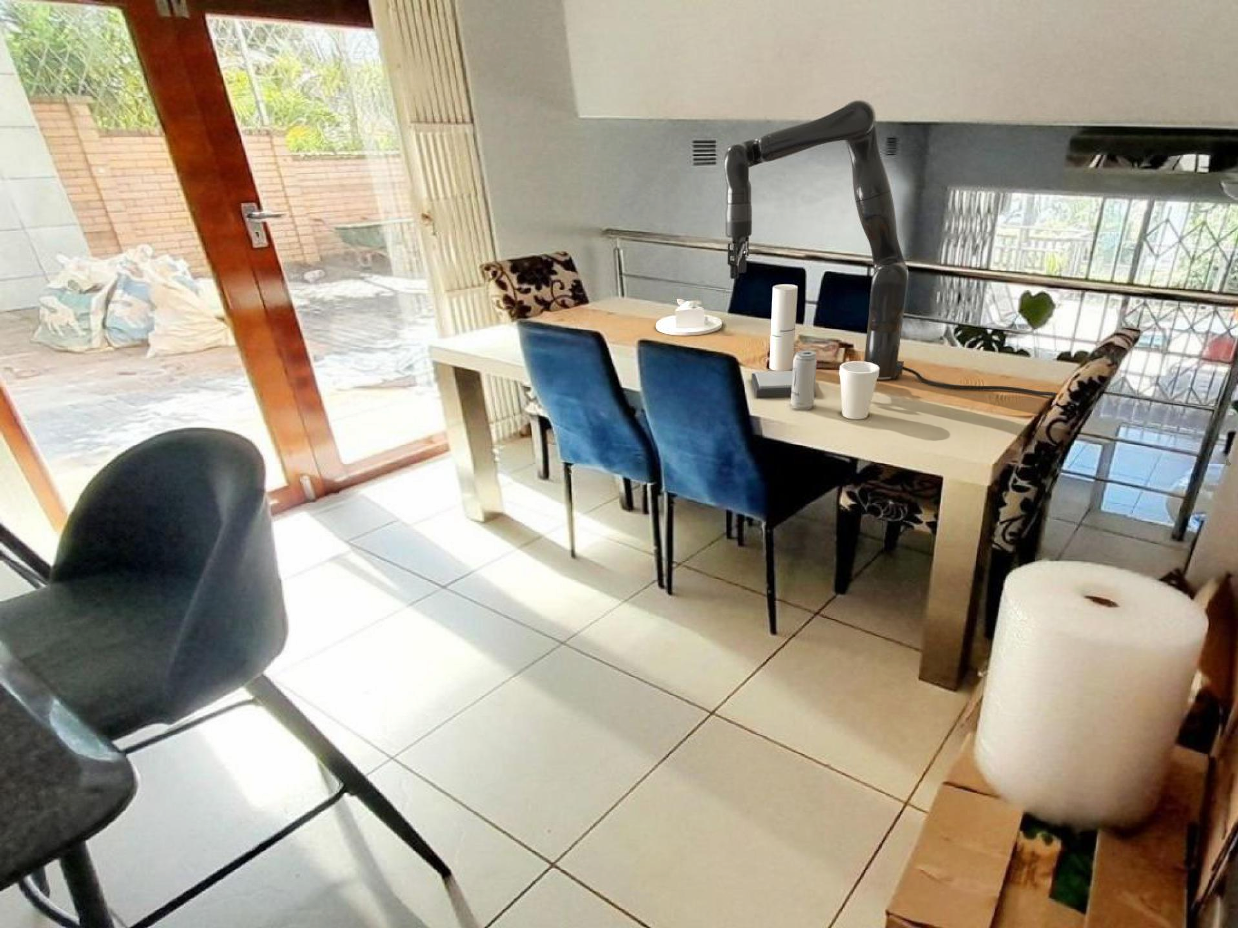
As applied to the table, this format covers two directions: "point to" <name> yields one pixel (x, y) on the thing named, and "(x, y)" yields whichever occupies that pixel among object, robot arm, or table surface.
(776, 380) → the scale
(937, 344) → the table surface
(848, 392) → the foam cup
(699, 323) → the dish
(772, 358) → the cylindrical container
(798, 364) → the energy drink can
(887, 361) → the robot arm
